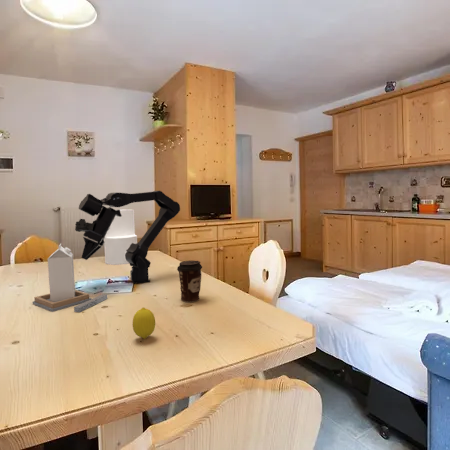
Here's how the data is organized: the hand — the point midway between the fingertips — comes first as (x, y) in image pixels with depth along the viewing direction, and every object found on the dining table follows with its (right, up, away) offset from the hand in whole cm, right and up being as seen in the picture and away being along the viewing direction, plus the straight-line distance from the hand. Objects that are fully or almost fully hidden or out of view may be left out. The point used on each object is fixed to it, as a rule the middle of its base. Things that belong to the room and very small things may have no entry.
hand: (84, 259), depth 126 cm
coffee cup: (+41, -13, -11) cm, 44 cm away
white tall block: (-4, -7, +59) cm, 60 cm away
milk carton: (-3, -13, -11) cm, 17 cm away
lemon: (+32, -16, -42) cm, 55 cm away
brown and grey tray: (-3, -14, -11) cm, 18 cm away
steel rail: (+9, -14, -14) cm, 22 cm away
